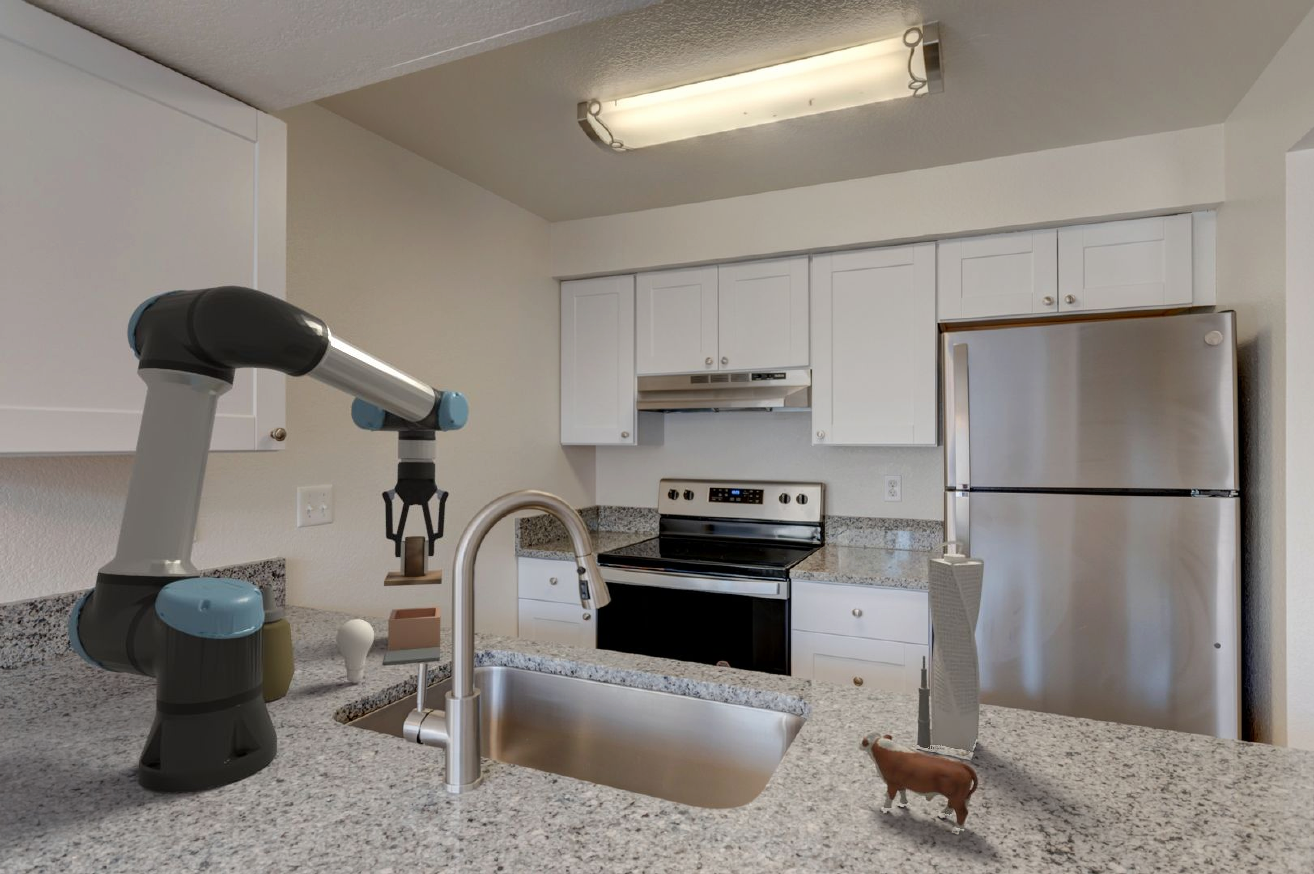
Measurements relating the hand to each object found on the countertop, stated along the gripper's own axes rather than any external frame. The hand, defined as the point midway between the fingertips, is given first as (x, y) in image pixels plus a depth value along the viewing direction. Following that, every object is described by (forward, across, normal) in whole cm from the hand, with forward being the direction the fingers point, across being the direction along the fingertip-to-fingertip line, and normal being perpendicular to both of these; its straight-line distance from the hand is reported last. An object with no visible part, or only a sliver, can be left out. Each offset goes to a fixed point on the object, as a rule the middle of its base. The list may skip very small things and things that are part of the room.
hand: (414, 572), depth 146 cm
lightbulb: (+15, +8, +23) cm, 29 cm away
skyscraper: (+15, -74, +73) cm, 105 cm away
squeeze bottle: (+16, +22, +26) cm, 37 cm away
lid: (+2, 0, 0) cm, 2 cm away
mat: (+15, 0, +10) cm, 18 cm away
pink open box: (+15, 0, -1) cm, 15 cm away
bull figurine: (+16, -58, +87) cm, 105 cm away
